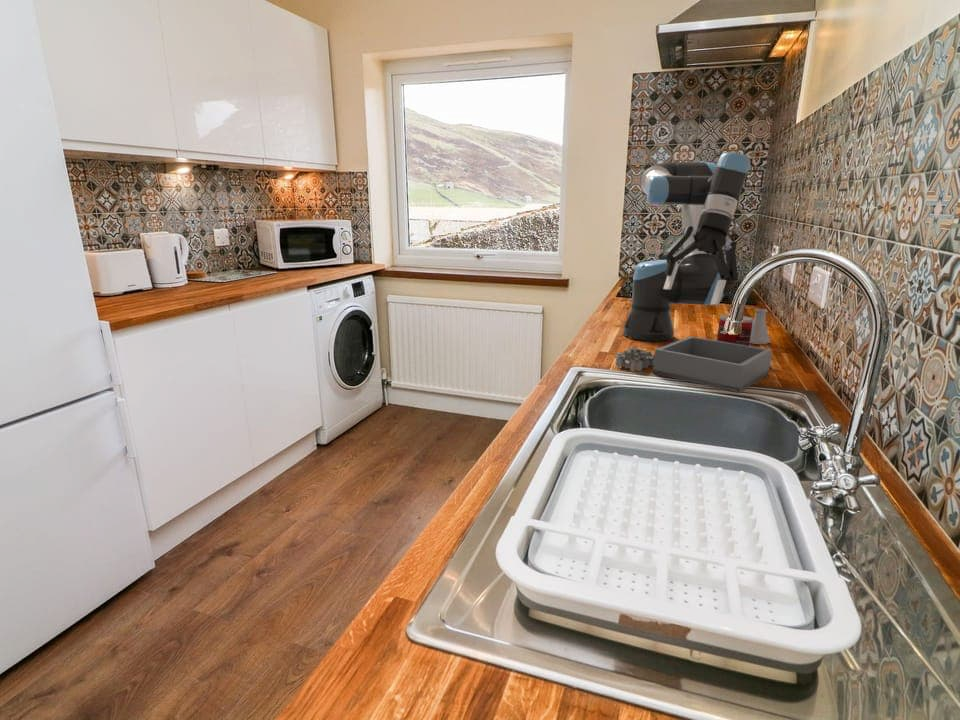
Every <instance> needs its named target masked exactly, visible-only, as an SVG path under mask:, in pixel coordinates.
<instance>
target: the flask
mask: <svg viewBox="0 0 960 720" xmlns="http://www.w3.org/2000/svg"><path fill="white" fill-rule="evenodd" d="M754 311H755V312H754V313H755V314H754V318H753V323H752V330H751V337H750V344H752V345H753V344H754V345H768V344H767V343H770V344H771V343H772V342H771V339H770V335H769V331H768V328H767V320H766V319H767V318H766V317H767V313H768V312H769V311H768V310H767V309H765V308H755V309H754Z"/></svg>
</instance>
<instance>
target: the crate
mask: <svg viewBox="0 0 960 720" xmlns="http://www.w3.org/2000/svg"><path fill="white" fill-rule="evenodd" d="M772 354H773V349H770V348H763V347H758V346H752V345H749V346H746V345H740V344H734V343H728V342H722V341H717V339H716V340H715V339H709V338H704V337H697V336H692V335H691V336H688V337H685V338H682V339H679V340H677V341H674V342H670V343H669V344H665V345H663V346H659V347H658V348H655V349H654V355H655V357H654V365H653V367H652V368H653V370H652V374H654V375H658V376H663V377H666V378H672V379H677V380H680V381H684V382H689V383H694V384H697V385H703V386H708V387H712V388H717V389H721V390H724V391H725V390H726V391H730V392H733V393H734V392H735V393H741V392H743V391H744V390H746V389H747V388H749V387H751V386H752V385H754V384H755V383H757V382H758V381H760V380H762V379H763V378H764V377H767V375H769V373H770V367H771V360H772ZM750 385H751V386H750Z"/></svg>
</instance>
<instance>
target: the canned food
mask: <svg viewBox="0 0 960 720" xmlns="http://www.w3.org/2000/svg"><path fill="white" fill-rule="evenodd" d="M728 315H729V314H723V315H720V317H719V320H718V321H719V322H718V327H717V337H716V341H722V342H728V343H734V344H740V345H746V346H750V344H751V343H750V337H751V330H752V323H753V320H754V318H752V317H750V316H745V315H742V316H743V323H742V331H741V333H740V334H738V335H729V334H728V333H726V332H724V324H725V321H726V319H727V316H728Z"/></svg>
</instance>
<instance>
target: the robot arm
mask: <svg viewBox="0 0 960 720" xmlns="http://www.w3.org/2000/svg"><path fill="white" fill-rule="evenodd" d="M750 165H751V159H750V158H749V157H748V156H747V155H745V154H743V153H740V152H733V151H731V152H729V151H728V152H725V153H722V154H721V155H720V157H719V159H718V161H717V163H716V164H715V163H713V162H710V161H709V162H706V161H699V162H696V161H695V162H692V161H691V162H690V161H689V162H687V161H686V162H685V161H684V162H683V161H681V162H679V161H678V162H675V161H673V162H672V161H669V162H668V161H667V162H661V163H657V164H655V165H652V166H650V167H649V168H647V169H646V170H644V172H643V173H642V175H641V178H640V180H639V186H640V190H642V193H644V194H645V196H646V201H647V204H649V205H658V206H665V205H666V206H667V205H668V206H669V205H671V206H672V205H675V206H677V205H678V207H680V208H681V221H682V222H681V226H682V233H681V235H680V236H679V237H678V238H677V239H676V240H675V241H674V242H673V243H672V244H671V246H669V248H668V249H666V251H665V252H664V253H663V254H662V256H661V257H662V259H657V260H649V261H643V262H639V263H638V264H636V265H635V267H634V270H633V271H634V272H633V277H632V280H633V281H632V293H631V294H632V295H631V303H630V304H631V305H630V312H629V314H628V317H627V319H626V321H625V324H624V325H623V331H622V334H624V335H626V336H628V337H627V338H629V337H631V338H630V339H633V338H635V339H634V340H638V339H639V341H648V342H662V341H672V340H673V339H674V336H675V335H674V334H675V331H674V330H675V329H674V325H673V321H672V316H671V308H672V305H673V304H675V305H676V304H678V305H679V304H681V305H699V306H700V305H701V306H707V305H708V306H719V305H720V302H721V301H722V300H723V297H724V295H725V294H726V292H727V289H728V286H729V283H730V282H736V281H738V280H739V275H738V266H737V264H738V263H737V257H736V256H737V254H736V248H737V242H736V241H728V240H727V235H728V233H729V232H730V229H731V225H732V222H733V220H732V219H733V218H734V216H735V215H734V214H735V212H736V209H737V207H738V206H737V205H738V203H739V200H740V197H741V194H742V190H743V188H744V187H743V186H744V184H745V181H746V178H747V175H748V174H749V169H750ZM682 246H683V247H682ZM681 247H682V248H683V249H682V250H680V251H678V250H679V249H680V248H681ZM723 249H724V250H725V253H724V250H723ZM677 251H678V252H677ZM676 252H677V253H676ZM675 253H676V254H675ZM724 254H725V257H724ZM680 260H681V261H680ZM679 261H680V263H677V262H679ZM624 335H623V336H624ZM626 336H625V337H626Z"/></svg>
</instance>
